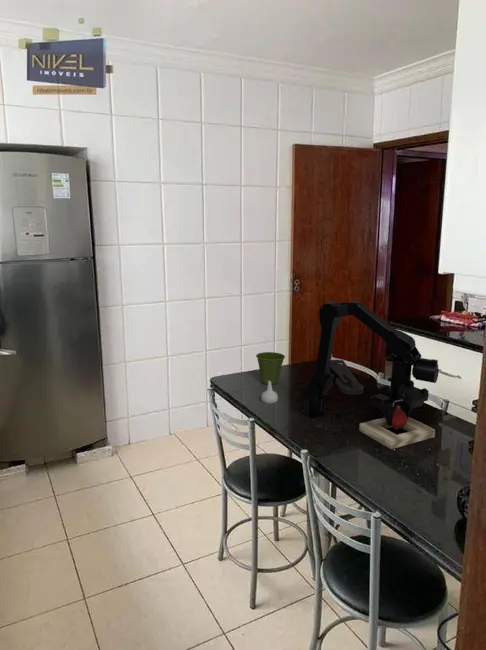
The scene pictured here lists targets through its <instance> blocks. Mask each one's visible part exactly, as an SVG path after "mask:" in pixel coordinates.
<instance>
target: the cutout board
mask: <svg viewBox="0 0 486 650" xmlns="http://www.w3.org/2000/svg"><path fill="white" fill-rule="evenodd" d="M389 428H392V427H391V426H389V425H388V424H387V422H386V419H385V417H382V418H377V419H372V420H369V421H365V422H361V423H359V428H358V429H359V430H358V431H359V432H361V433H363V434H364V435H366V436H368V437H370V438H371V439H372V440H374V441H376V442H378V443H380V444H381V445H383V446H385V447H387V448H388V449H390V450H393V449H396V448H400V447H404V446H407V445H412V444H414V443H417V442H422V441H426V440H430V439H431V438H435V436H436V429H435V428H432V427H430V426H429V425H427V424H424V423H423V422H421V421H418V420H416V419H415V418H413V417H410V416H409V417H408V419H407V423H406V425H405V426H404V427H402V428H401V429H402V430H404V431H406V432H402V433H398V434H396V433H394V432H393V431H390V430H388V429H389Z"/></svg>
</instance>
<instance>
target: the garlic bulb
mask: <svg viewBox="0 0 486 650" xmlns="http://www.w3.org/2000/svg"><path fill="white" fill-rule="evenodd" d="M272 385H273V384H271V381H268V384H267V386H266V390H265V391H263V392H262V393H261V395H260V400H261V401H262V402H263V403H264V404H269V405H270V404H275V403H276V402H278V400H279V396H278V394H277V392H276V391H274V390H273V386H272Z"/></svg>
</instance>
